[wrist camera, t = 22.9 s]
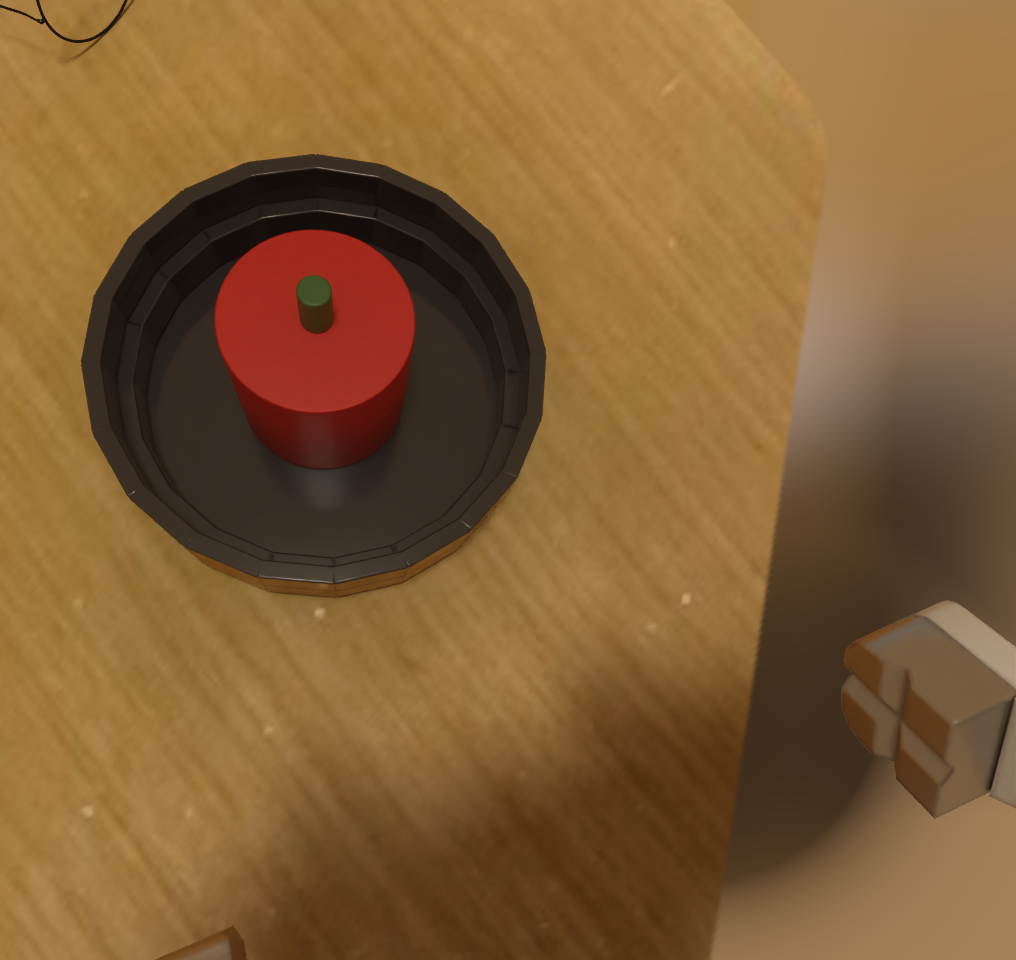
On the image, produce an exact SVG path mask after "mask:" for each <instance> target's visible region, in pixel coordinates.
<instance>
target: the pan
mask: <svg viewBox="0 0 1016 960" xmlns="http://www.w3.org/2000/svg"><path fill="white" fill-rule="evenodd" d="M300 230H326V231H332V232H337V233H341V234H344V235H348V236H350V237H353V238H355V239H358V240H360V241H362V242H364V243H366V244H367V245H369V246H371V247H372V248H374V249H375V250H376V251H378V252H379V253H381V254H382V255H383V256H384V257H385V258H386V259H387V260H388V261H389V262H390V263H391V264H392V265H393V266H394V267H395V269H396V270H397V271H398V272H399V274H400V275H401V277H402V279H403V280H404V282H405V284H406V286H407V288H408V290H409V292H410V295H411V298H412V302H413V306H414V311H415V326H416V328H415V337H414V343H413V349H412V355H411V361H410V367H409V373H408V379H407V385H406V391H405V397H404V403H403V409H402V412H401V416H400V419H399V421H398V424H397V426H396V428H395V430H394V431H393V433H392V435H391V436H390V437H389V439H388V440H387V441H386V442H385V443H384V444H383V445H382V446H381V447H380V448H379V449H378V450H377V451H376V452H374V453H373V454H372V455H370V456H369V457H367V458H365V459H363V460H362V461H360V462H357V463H355V464H352V465H349V466H345V467H342V468H335V469H312V468H306V467H302V466H298V465H295V464H293V463H290V462H288V461H286V460H284V459H282V458H280V457H278V456H277V455H275V454H274V453H273V452H271V451H270V450H269V449H268V448H267V447H266V446H265V445H263V444H262V443H261V441H260V440H259V439H258V438H257V436H256V435H255V434H254V432H253V430H252V429H251V427H250V425H249V423H248V420H247V418H246V416H245V413H244V411H243V408H242V405H241V403H240V400H239V398H238V395H237V393H236V390H235V388H234V385H233V382H232V380H231V377H230V375H229V372H228V370H227V367H226V365H225V362H224V359H223V357H222V354H221V352H220V349H219V346H218V342H217V339H216V334H215V326H214V315H215V306H216V301H217V297H218V294H219V291H220V288H221V286H222V284H223V282H224V280H225V278H226V276H227V275H228V273H229V272H230V270H231V269H232V267H233V266H234V265H235V264H236V263H237V262H238V261H239V260H240V258H241V257H242V256H244V255H245V254H246V253H247V252H248V251H250V250H251V249H252V248H254V247H255V246H257V245H259V244H260V243H262V242H264V241H266V240H268V239H270V238H272V237H275V236H278V235H281V234H284V233H288V232H293V231H300ZM81 363H82V364H81V367H82V373H83V379H84V385H85V392H86V398H87V404H88V410H89V417H90V423H91V429H92V432H93V436H94V438H95V439H96V441H97V443H98V445H99V446H100V448H101V450H102V452H103V454H104V455H105V457H106V459H107V461H108V463H109V464H110V466H111V468H112V470H113V471H114V473H115V475H116V477H117V479H118V480H119V482H120V484H121V486H122V487H123V489H124V491H125V493H126V495H127V496H128V497H129V499H130V500H131V501H133V502H134V503H135V504H136V505H137V506H138V507H139V508H141V509H142V510H143V511H144V512H145V513H146V514H147V515H149V516H150V517H151V518H152V519H153V520H154V521H155V522H156V523H158V524H159V525H160V526H161V527H162V528H163V529H164V530H166V531H167V532H168V533H169V534H170V535H171V536H172V537H174V538H175V539H176V540H177V541H178V542H179V543H180V544H181V545H183V546H184V547H185V548H186V549H187V550H188V551H190V552H191V553H192V554H193V555H194V556H195V557H196V558H198V559H199V560H200V561H201V562H202V563H204V564H205V565H207V566H209V567H211V568H214V569H216V570H219V571H221V572H223V573H226V574H228V575H230V576H233V577H235V578H238V579H240V580H242V581H245V582H247V583H249V584H252V585H254V586H257V587H259V588H261V589H264V590H266V591H271V592H282V593H294V594H305V595H317V596H329V597H336V596H337V597H340V596H344V595H348V594H353V593H357V592H362V591H366V590H370V589H375V588H379V587H384V586H388V585H393V584H397V583H401V582H404V581H405V580H407V579H409V578H410V577H412V576H414V575H416V574H417V573H419V572H421V571H422V570H424V569H426V568H427V567H429V566H431V565H432V564H434V563H436V562H437V561H439V560H441V559H443V558H444V557H446V556H448V555H449V554H451V553H453V552H454V551H456V550H457V549H458V548H460V547H461V546H462V544H463V543H464V542H465V541H466V540H467V539H468V538H469V536H470V535H471V534H472V533H473V532H474V531H475V530H476V528H477V527H478V526H479V525H480V524H481V523H482V522H483V520H484V519H485V518H486V517H487V516H488V515H489V514H490V512H491V511H492V510H493V509H494V508H495V507H496V506H497V504H498V503H499V502H500V501H501V499H502V498H503V497H504V495H505V494H506V493H507V491H508V490H509V489H510V487H511V486H512V485H513V483H514V482H515V481H516V479H517V478H518V475H519V473H520V470H521V468H522V465H523V463H524V461H525V458H526V456H527V453H528V451H529V449H530V446H531V444H532V441H533V439H534V436H535V434H536V432H537V429H538V427H539V424H540V422H541V420H542V414H543V398H544V382H545V366H546V349H545V346H544V342H543V338H542V334H541V331H540V327H539V323H538V319H537V316H536V312H535V308H534V304H533V301H532V297H531V293H530V291H529V288H528V287H527V285H526V284H525V282H524V281H523V279H522V277H521V276H520V274H519V273H518V271H517V270H516V268H515V266H514V265H513V263H512V262H511V260H510V259H509V257H508V256H507V254H506V252H505V251H504V249H503V248H502V246H501V245H500V243H499V241H498V240H497V238H496V237H495V236H494V234H493V233H491V232H490V231H489V230H488V229H487V228H486V227H484V226H483V225H482V224H481V223H480V222H479V221H477V220H476V219H475V218H474V217H473V216H472V215H470V214H469V213H468V212H467V211H466V210H465V209H463V208H462V207H461V206H460V205H459V204H458V203H456V202H455V201H454V200H453V199H452V198H451V197H449V196H448V195H447V194H446V193H444V192H442V191H440V190H438V189H436V188H434V187H431V186H429V185H427V184H425V183H423V182H420V181H418V180H416V179H414V178H412V177H409V176H407V175H405V174H403V173H401V172H399V171H396V170H394V169H392V168H390V167H388V166H385V165H382V164H377V163H370V162H364V161H358V160H351V159H345V158H338V157H332V156H325V155H319V154H316V155H315V154H310V155H302V156H293V157H285V158H277V159H269V160H260V161H252V162H247V163H244V164H241V165H239V166H237V167H234V168H232V169H230V170H227V171H225V172H223V173H220V174H218V175H216V176H213V177H211V178H209V179H206V180H204V181H202V182H199V183H197V184H195V185H192V186H190V187H188V188H185V189H184V191H181V192H179V193H178V194H177V195H176V196H175V197H174V198H172V199H171V200H170V201H169V202H168V203H167V204H165V205H164V206H163V207H162V208H161V209H160V210H158V211H157V212H156V213H155V214H154V215H153V216H151V217H150V218H149V219H148V220H147V221H146V222H144V223H143V224H142V225H141V226H140V227H139V228H137V229H136V230H135V231H134V232H133V233H132V234H131V236H129V237H128V239H127V241H126V242H125V244H124V246H123V247H122V249H121V251H120V252H119V254H118V256H117V258H116V259H115V261H114V263H113V264H112V266H111V268H110V269H109V271H108V273H107V274H106V276H105V278H104V279H103V281H102V283H101V284H100V286H99V288H98V289H97V291H96V293H95V295H94V298H93V303H92V308H91V313H90V318H89V323H88V328H87V334H86V339H85V344H84V349H83V354H82V359H81Z"/></svg>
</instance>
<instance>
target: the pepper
mask: <svg viewBox="0 0 1016 960" xmlns="http://www.w3.org/2000/svg"><path fill="white" fill-rule="evenodd" d="M214 326H215V334H216V339H217V342H218V346H219V349H220V352H221V354H222V357H223V359H224V362H225V365H226V367H227V370H228V372H229V375H230V377H231V380H232V382H233V385H234V388H235V390H236V393H237V395H238V398H239V400H240V403H241V405H242V408H243V411H244V413H245V416H246V418H247V420H248V423H249V425H250V427H251V429H252V430H253V432H254V434H255V435H256V436H257V438H258V439H259V440H260V441H261V443H262V444H263V445H265V446H266V447H267V448H268V449H269V450H270V451H271V452H273V453H274V454H275V455H277V456H278V457H280V458H282V459H284V460H286V461H288V462H290V463H293V464H295V465H298V466H302V467H306V468H312V469H335V468H342V467H345V466H349V465H352V464H355V463H357V462H360V461H362V460H363V459H365V458H367V457H369V456H370V455H372V454H373V453H374V452H376V451H377V450H378V449H379V448H380V447H381V446H382V445H383V444H384V443H385V442H386V441H387V440H388V439H389V437H390V436H391V435H392V433H393V431H394V430H395V428H396V426H397V424H398V421H399V419H400V416H401V412H402V409H403V403H404V397H405V391H406V385H407V379H408V373H409V367H410V361H411V355H412V349H413V343H414V337H415V328H416V326H415V311H414V306H413V302H412V298H411V295H410V292H409V290H408V288H407V286H406V284H405V282H404V280H403V279H402V277H401V275H400V274H399V272H398V271H397V270H396V269H395V267H394V266H393V265H392V264H391V263H390V262H389V261H388V260H387V259H386V258H385V257H384V256H383V255H382V254H381V253H379V252H378V251H376V250H375V249H374V248H372V247H371V246H369V245H367V244H366V243H364V242H362V241H360V240H358V239H355V238H353V237H350V236H348V235H344V234H341V233H337V232H332V231H326V230H300V231H293V232H288V233H284V234H281V235H278V236H275V237H272V238H270V239H268V240H266V241H264V242H262V243H260V244H259V245H257V246H255V247H254V248H252V249H251V250H250V251H248V252H247V253H246V254H245V255H244V256H242V257H241V258H240V260H239V261H238V262H237V263H236V264H235V265H234V266H233V267H232V269H231V270H230V272H229V273H228V275H227V276H226V278H225V280H224V282H223V284H222V286H221V288H220V291H219V294H218V297H217V301H216V306H215V315H214Z"/></svg>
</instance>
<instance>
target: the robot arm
mask: <svg viewBox="0 0 1016 960" xmlns="http://www.w3.org/2000/svg"><path fill="white" fill-rule="evenodd" d="M844 665H845V666H846V667H847V668H848V669H849V670H851V671H852V673H851V674H850V676H849V677H848V679H847V680H846V682H845V683H844V685H843V687H842V698H841V706H842V709H843V712H844V714H845V717H846V720H847V722H848V725H849V726H850V728H851V729H852V731H853V732H854V734H855V735H856V737H857V738H858V740H860V742H861V743H862V744H863V745H864V746H865V747H866V748H867V749H868V750H869V751H870V752H871V753H872V754H874V755H877V756H880V757H882V758H885V759H888V760H891V761H893V762H894V767H895V773H896V779H897V781H898V782H899V783H900V784H901V785H902V786H903V787H904V788H905V789H906V790H907V791H908V792H909V793H910V794H911V795H912V796H913V797H914V798H915V799H916V800H917V801H918V802H919V803H920V804H921V805H922V806H923V807H924V808H925V809H926V810H927V811H928V812H929V813H930V814H931V816H933V818H934V819H935V818H937V817H939V816H941V815H943V814H945V813H948V812H950V811H952V810H954V809H956V808H958V807H960V806H962V805H964V804H966V803H968V802H970V801H972V800H974V799H976V798H978V797H981V796H983V795H985V794H986V793H989V792H990V797H993V798H995V799H997V800H999V801H1001V802H1003V803H1005V804H1008V805H1010V806H1012V807H1014V808H1016V647H1015V646H1014V645H1012V644H1011V643H1010V642H1008V641H1007V640H1006V639H1004V638H1003V637H1002V636H1000V635H999V634H998V633H996V632H995V631H994V630H992V629H991V628H990V627H989V626H987V625H986V624H985V623H983V622H982V621H981V620H979V619H978V618H977V617H975V616H974V615H973V614H971V613H970V612H969V611H967V610H966V609H965V608H964V607H962V606H960V605H959V604H958V603H955V602H951V601H948V600H946V601H943V602H939V603H937V604H935V605H933V606H931V607H929V608H927V609H924V610H922V611H920V612H918V613H916V614H914V615H912V616H911V615H909V616H907V617H905V618H903V619H901V620H899V621H897V622H894V623H892V624H890V625H888V626H886V627H884V628H882V629H880V630H878V631H876V632H873V633H871V634H869V635H867V636H865V637H863V638H861V639H859V640H857V641H855V642H853V643H851V644H850V646H849V647H848V648H847V649H846V651H845V659H844ZM156 960H248V959H246V953H245V947H244V942H243V939H242V938H241V936H240V935H239V933H238V932H237V931H236V929H235V928H234V926H231V927H228V928H226V929H224V930H222V931H219V932H217V933H215V934H212V935H210V936H208V937H206V938H203V939H201V940H199V941H197V942H194V943H192V944H190V945H188V946H185V947H183V948H181V949H178V950H176V951H174V952H172V953H169V954H167V955H165V956H163V957H160V958H158V959H156Z"/></svg>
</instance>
